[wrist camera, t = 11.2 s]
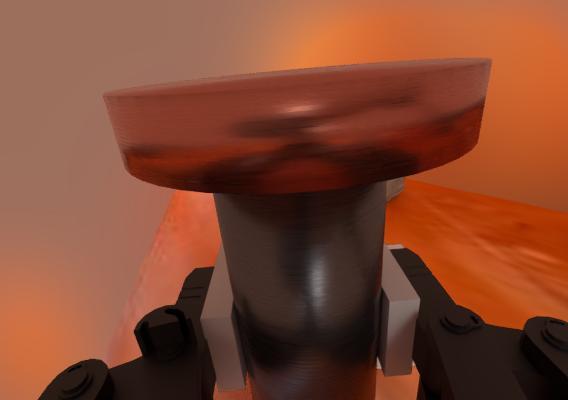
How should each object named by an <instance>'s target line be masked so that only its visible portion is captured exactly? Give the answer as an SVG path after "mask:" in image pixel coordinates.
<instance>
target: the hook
mask: <svg viewBox="0 0 568 400" xmlns="http://www.w3.org/2000/svg"><path fill="white" fill-rule="evenodd" d="M491 64H492V59H489V58H451V59H450V58H449V59H427V60H411V61H410V60H409V61H394V62H379V63H365V64H353V65H341V66H340V65H339V66H327V67H315V68H304V69H292V70H283V71H272V72H262V73H250V74H240V75H231V76H221V77H212V78H203V79H195V80H186V81H178V82H169V83H162V84H155V85H147V86H140V87H133V88H127V89H122V90H116V91H111V92H107V93H104V94H103V98H104V101H105V104H106V107H107V111H108V114H109V117H110V120H111V123H112V127H113V130H114V133H115V137H116V140H117V143H118V147H119V150H120V153H121V156H122V159H123V163H124V166H125V169H126V170H127V171H128V172H129V173H130V174H131V175H132V176H134V177H136V178H138V179H140V180H142V181H145V182H148V183H151V184H154V185H158V186H162V187H167V188H172V189H178V190H185V191H195V192H204V193H213V196H214V201H215V206H216V211H217V216H218V222H219V227H220V232H221V237H222V242H223V248H224V253H225V258H226V263H227V268H228V274H229V279H230V284H231V289H232V294H233V299H234V305H235V310H236V315H237V320H238V325H239V331H240V336H241V341H242V346H243V351H244V357H245V362H246V367H247V372H248V377H249V383H250V388H251V393H252V398H253V400H375V394H376V376H377V357H378V339H379V321H380V302H381V284H382V265H383V247H384V228H385V210H386V192H387V181H388V180H393V179H397V178H401V177H405V176H409V175H414V174H418V173H421V172H424V171H427V170H430V169H433V168H436V167H439V166H442V165H445V164H447V163H449V162H451V161H454V160H456V159H458V158H460V157H462V156H463V155H465V154H466V153H468V152H469V151H471V150H472V149H473V148H474V146H475V145H476V144H477V143H478V139H479V133H480V128H481V121H482V116H483V110H484V104H485V98H486V92H487V87H488V81H489V75H490V69H491Z"/></svg>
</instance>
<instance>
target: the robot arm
mask: <svg viewBox="0 0 568 400" xmlns="http://www.w3.org/2000/svg"><path fill="white" fill-rule="evenodd" d="M134 334H135V336H136V339H137V342H138V344H139V347H140V350H141V352H142V355H143V356H141V357H139V358H137V359H135V360H132V361H130V362H127V363H124V364H121V365H119V366H116V367H113V368H110V369H108V367H107V365H106V364H105V363H104V362H103V361H102V360H98V359H89V360H84V361H80V362H78V363H76V364H74V365H72V366H70V367H68V368H67V369H65V370H64V371H63V372H61V373H60V374H59V375H57V376H56V378H55V379H54V380H53V381H52V382H51V383H50V384H49V385H48V386H47V388H46V389H45V391H44V392H43V393H42V394H41V396H40V397H39V399H38V400H213V393H214V387H215V382H216V383H217V387H218V391H219V392H225V391H235V390H245V388H246V375H247V367H246V362H245V357H244V351H243V346H242V341H241V336H240V331H239V325H238V320H237V315H236V310H235V305H234V299H233V294H232V289H231V284H230V279H229V274H228V268H227V263H226V258H225V253H224V248H223V242H221V246H220V250H219V253H218V257H217V260H216V264H215V267H204V268H195V269H194V270H193V271H192V272H191V273H190V274H189V275H188V276H187V277H186V279H185V282H184V284H183V287H182V291H181V292H180V294H179V297H178V300H177V302H176V304H175V305H167V306H163V307H160V308H157V309H155V310H153V311H152V312H150V313H148V314H147V315H145V316H144V317H143V318H142V319H141V320H140V321H139V322H138V324H137V326H136V327H135V329H134ZM378 360H379V363H380V365H381V368H382V371H383V374H384V376H385V377H387V376H398V375H409V374H411V372H412V364H413V361H414V363H415V365H416V368H417V370H418V372H419V374H420V378H419V385H418V392H417V400H568V323H567V322H565V321H563V320H560V319H556V318H551V317H540V316H536V317H533V318H530V319H528V320H527V322H526V323H525V325H524V328H523V330H519V329H512V328H506V327H499V326H494V325H489V324H486V323H485V322H484V321H483V320H482V318H481V317H480V316H479V315H477V314H476V313H474V312H473V311H471V310H470V309H467V308H465V307H462V306H460V305H456V304H455V303H454V301H453V300H452V299H451V297H450V296H449V295H448V293H447V292H446V291H445V289H444V288H443V287H442V286H441V284H440V283H439V282H438V280H437V279H436V278H435V276H434V275H432V273H431V271H430V270H429V269H428V267H426V265H425V263H424V262H423V261H422V259H421V258H420V257H419V256H418V255H417V254H415V253H414V252H412V251H411V250H409V249H407V248H399V249H388V247H387V246H386V244H385V242H384V247H383V265H382V284H381V302H380V321H379V339H378Z"/></svg>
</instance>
